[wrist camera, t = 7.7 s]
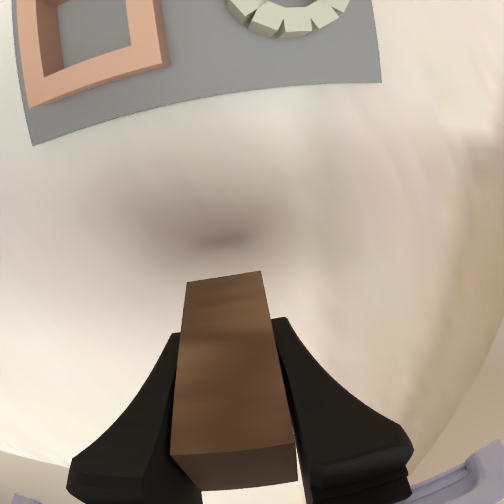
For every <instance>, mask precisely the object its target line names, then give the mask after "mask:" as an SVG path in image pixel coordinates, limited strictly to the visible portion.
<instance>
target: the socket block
mask: <svg viewBox="0 0 504 504" xmlns="http://www.w3.org/2000/svg"><path fill="white" fill-rule="evenodd" d="M12 21H13V35H14V46H15V55H16V63H17V70H18V77H19V84H20V90H21V95H22V101H23V106H24V111H25V116H26V121H27V125H28V130H29V134H30V138H31V142H32V146H35V145H38V144H40V143H43V142H46V141H48V140H51V139H54V138H56V137H59V136H62V135H65V134H67V133H70V132H73V131H76V130H79V129H82V128H85V127H88V126H91V125H94V124H98V123H101V122H104V121H107V120H111V119H114V118H118V117H121V116H125V115H129V114H132V113H136V112H140V111H144V110H148V109H152V108H156V107H161V106H165V105H169V104H174V103H179V102H183V101H188V100H193V99H199V98H204V97H210V96H215V95H222V94H228V93H234V92H241V91H249V90H257V89H265V88H274V87H284V86H296V85H309V84H327V83H382V79H381V68H380V58H379V50H378V41H377V34H376V27H375V20H374V13H373V7H372V2H371V0H12Z"/></svg>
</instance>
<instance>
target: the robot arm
mask: <svg viewBox="0 0 504 504" xmlns="http://www.w3.org/2000/svg"><path fill="white" fill-rule="evenodd" d="M271 324H272V329H273V334H274V338H275V343H276V348H277V353H278V358H279V363H280V368H281V373H282V378H283V383H284V388H285V393H286V398H287V403H288V408H289V413H290V418H291V423H292V427H293V431H294V437H295V442H296V447H297V453H298V458H299V464H300V469H301V475H302V480H303V486H304V492H305V498H306V503H307V504H498V503H500V502H502V501H503V500H504V447H503V445H502V443H501V441H500V440H499V439H496V440H495V441H493V442H491V443H490V444H488V445H486V446H484V447H482V448H481V449H479V450H477V451H476V452H474V453H473V454H471V455H470V456H469V457H468V458H467V459H466V461H465V462H464V463H462V464H460V465H458V466H456V467H454V468H452V469H450V470H447V471H445V472H443V473H441V474H439V475H436V476H434V477H432V478H429V479H427V480H425V481H422V482H420V483H417V484H415V485H412V486H410V485H409V482H408V479H407V477H406V476H408V471H407V468H406V466H405V465H406V464H407V462H408V461H409V459H410V458H411V456H412V454H413V452H414V448H413V445H412V443H411V441H410V439H409V437H408V436H407V434H406V433H405V431H404V430H403V428H402V427H401V426H400V425H399V424H397V423H395V422H393V421H392V420H390V419H388V418H386V417H384V416H383V415H381V414H379V413H378V412H376V411H374V410H373V409H371V408H370V407H368V406H367V405H365V404H364V403H363V402H361V401H360V400H359V399H357V398H356V397H354V396H353V395H352V394H350V393H349V392H348V391H347V390H346V389H344V388H343V387H342V386H341V385H340V384H339V383H338V382H337V381H335V380H334V379H333V378H332V377H331V376H330V375H329V374H328V373H327V372H326V371H325V370H324V369H323V368H322V366H321V365H320V364H319V363H318V362H317V361H316V360H315V359H314V357H313V356H312V355H311V354H310V352H309V351H308V350H307V349H306V347H305V346H304V345H303V343H302V342H301V340H300V339H299V338H298V336H297V335H296V333H295V331H294V330H293V328H292V326H291V325H290V323H289V321H288V319H287V318H286V317H281V318H275V319H271ZM180 334H181V332H179V333H172V334H171V336H170V338H169V340H168V342H167V344H166V346H165V348H164V350H163V351H162V353H161V355H160V357H159V359H158V361H157V363H156V364H155V366H154V368H153V370H152V371H151V373H150V375H149V377H148V378H147V380H146V381H145V383H144V384H143V386H142V388H141V389H140V391H139V392H138V394H137V395H136V396H135V398H134V399H133V401H132V402H131V403H130V404H129V406H128V407H127V408H126V410H125V411H124V412H123V413H122V414H121V415H120V417H119V418H118V419H117V420H116V421H115V422H114V423H113V424H112V426H111V427H110V428H109V429H108V430H106V431H105V432H104V433H103V434H102V435H101V436H100V437H99V438H98V439H97V440H96V441H95V442H93V443H92V444H91V445H90V446H89V447H87V448H86V449H85V450H83V451H82V452H81V453H79V454H78V455H77V456H75V457H74V458H72V462H71V465H70V469H69V474H68V480H67V486H66V489H67V490H68V492H69V493H70V494H71V495H73V496H74V497H76V498H77V499H79V500H80V501H82V502H84V503H86V504H203V502H202V494H201V490H200V489H199V488H198V487H197V486H196V485H195V483H194V482H193V481H192V480H191V479H190V478H189V477H188V476H187V474H186V473H185V472H184V471H183V470H182V469H181V468H180V466H179V465H178V464H177V463H176V462H175V461H174V459H173V458H172V457H171V456H170V444H171V429H172V416H173V404H174V392H175V381H176V371H177V361H178V352H179V343H180ZM12 504H44V503H42V502H40V501H38V500H36V499H33V498H31V497H27V496H24V495H21V494H18V493H15V494H14V496H13V501H12Z"/></svg>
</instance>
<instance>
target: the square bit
mask: <svg viewBox="0 0 504 504" xmlns="http://www.w3.org/2000/svg"><path fill="white" fill-rule="evenodd" d="M170 456H171V457H172V458H173V459H174V461H175V462H176V463H177V464H178V465H179V466H180V468H181V469H182V470H183V471H184V472H185V473H186V474H187V476H188V477H189V478H190V479H191V480H192V481H193V482H194V483H195V485H196V486H197V487H198V488H199V489H200V490H201V491H216V490H231V489H243V488H252V487H261V486H268V485H276V484H282V483H288V482H294V481H298V473H297V458H296V444H295V438H294V433H293V428H292V423H291V418H290V413H289V408H288V403H287V398H286V393H285V388H284V383H283V378H282V373H281V368H280V363H279V358H278V353H277V348H276V343H275V338H274V334H273V329H272V324H271V319H270V314H269V309H268V304H267V299H266V294H265V289H264V285H263V280H262V275H261V271H256V272H249V273H243V274H237V275H230V276H224V277H218V278H211V279H205V280H198V281H192V282H187V286H186V294H185V301H184V309H183V317H182V325H181V334H180V343H179V352H178V361H177V371H176V381H175V392H174V404H173V416H172V429H171V444H170Z"/></svg>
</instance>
